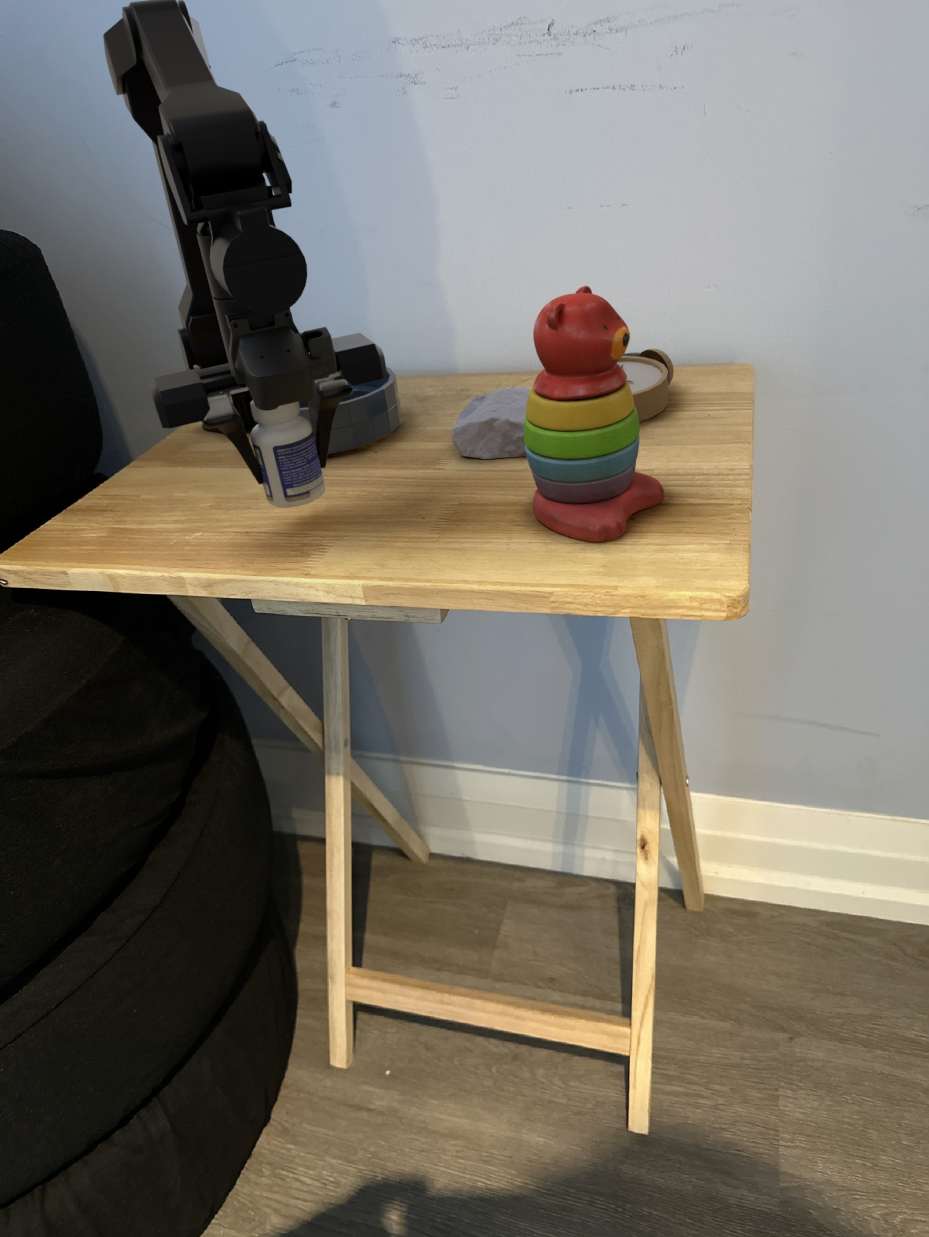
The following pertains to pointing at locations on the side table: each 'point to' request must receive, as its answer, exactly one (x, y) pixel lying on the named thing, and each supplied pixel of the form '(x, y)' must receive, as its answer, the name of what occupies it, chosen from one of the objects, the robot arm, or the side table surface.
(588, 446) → the stacking bear
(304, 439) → the pill bottle
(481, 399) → the stone block
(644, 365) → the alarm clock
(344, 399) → the bowl
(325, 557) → the side table surface
